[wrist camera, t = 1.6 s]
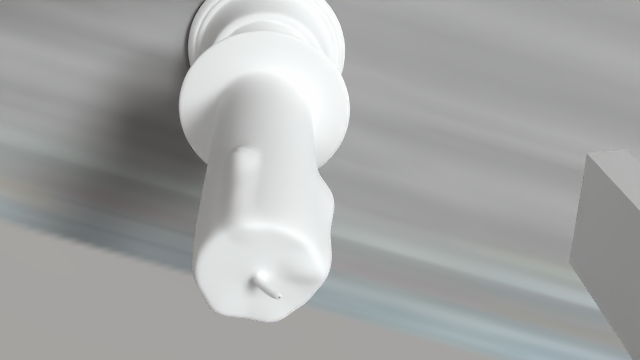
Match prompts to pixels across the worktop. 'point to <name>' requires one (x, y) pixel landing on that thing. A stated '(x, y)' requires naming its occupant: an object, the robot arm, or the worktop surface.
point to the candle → (263, 150)
